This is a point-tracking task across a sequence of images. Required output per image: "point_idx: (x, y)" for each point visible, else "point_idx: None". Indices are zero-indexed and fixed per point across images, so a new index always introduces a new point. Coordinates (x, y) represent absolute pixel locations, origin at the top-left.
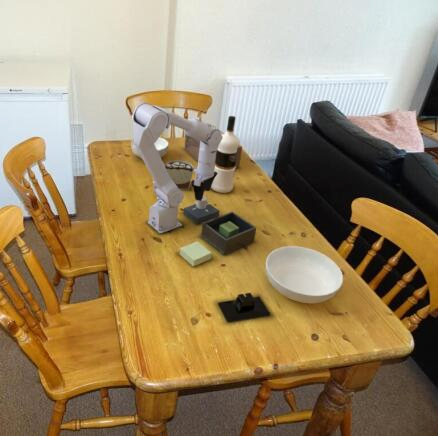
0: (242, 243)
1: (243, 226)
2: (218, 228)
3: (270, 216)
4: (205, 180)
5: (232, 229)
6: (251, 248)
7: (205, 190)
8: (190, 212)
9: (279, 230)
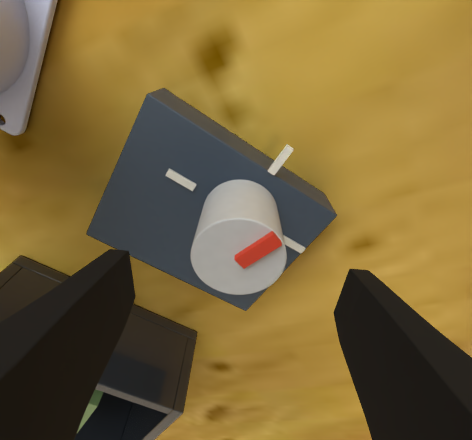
0: None
1: (142, 414)
2: None
3: (329, 416)
4: (420, 405)
5: None
6: None
7: (344, 287)
8: (120, 168)
9: (250, 434)
